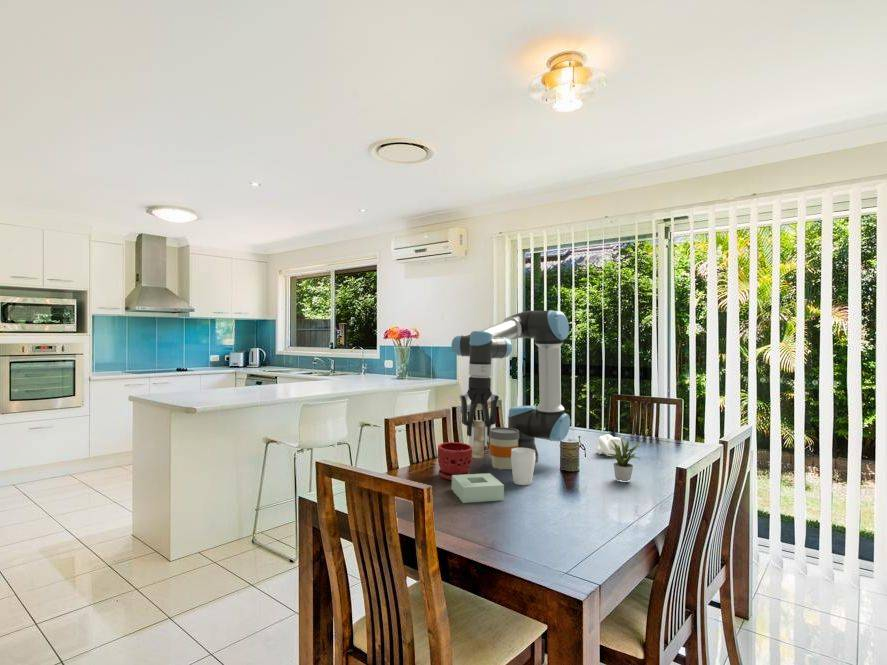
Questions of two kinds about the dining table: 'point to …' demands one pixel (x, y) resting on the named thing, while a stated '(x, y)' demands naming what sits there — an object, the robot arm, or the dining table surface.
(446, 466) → the plant pot
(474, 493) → the socket block
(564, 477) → the dining table surface
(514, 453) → the cup
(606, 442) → the crumpled white lump
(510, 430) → the reusable coffee cup
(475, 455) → the peg
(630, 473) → the house plant
